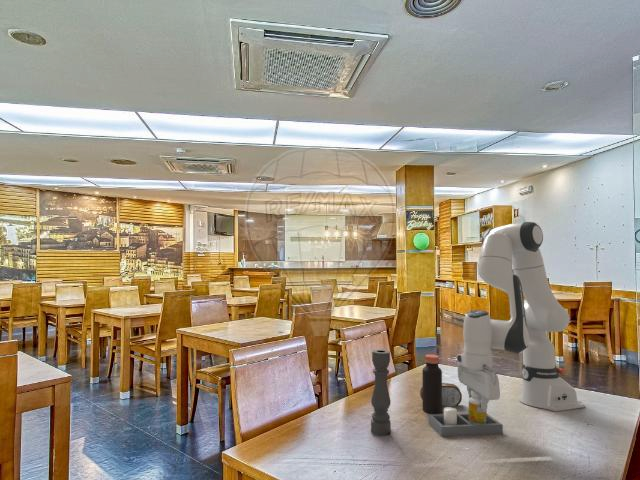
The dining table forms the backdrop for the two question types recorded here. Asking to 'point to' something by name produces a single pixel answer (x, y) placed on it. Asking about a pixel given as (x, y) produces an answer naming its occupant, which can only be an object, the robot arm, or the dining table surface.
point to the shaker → (450, 416)
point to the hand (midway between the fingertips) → (477, 404)
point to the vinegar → (432, 385)
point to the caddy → (464, 426)
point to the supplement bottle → (476, 409)
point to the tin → (448, 394)
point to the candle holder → (380, 394)
